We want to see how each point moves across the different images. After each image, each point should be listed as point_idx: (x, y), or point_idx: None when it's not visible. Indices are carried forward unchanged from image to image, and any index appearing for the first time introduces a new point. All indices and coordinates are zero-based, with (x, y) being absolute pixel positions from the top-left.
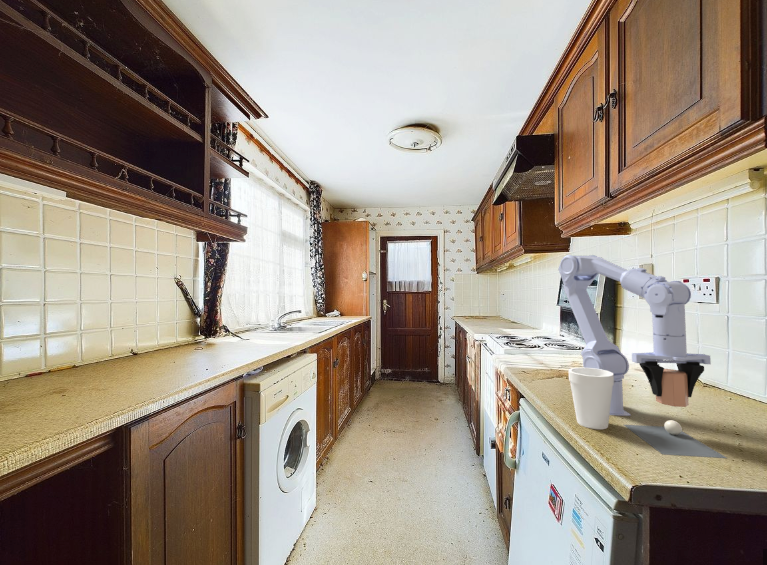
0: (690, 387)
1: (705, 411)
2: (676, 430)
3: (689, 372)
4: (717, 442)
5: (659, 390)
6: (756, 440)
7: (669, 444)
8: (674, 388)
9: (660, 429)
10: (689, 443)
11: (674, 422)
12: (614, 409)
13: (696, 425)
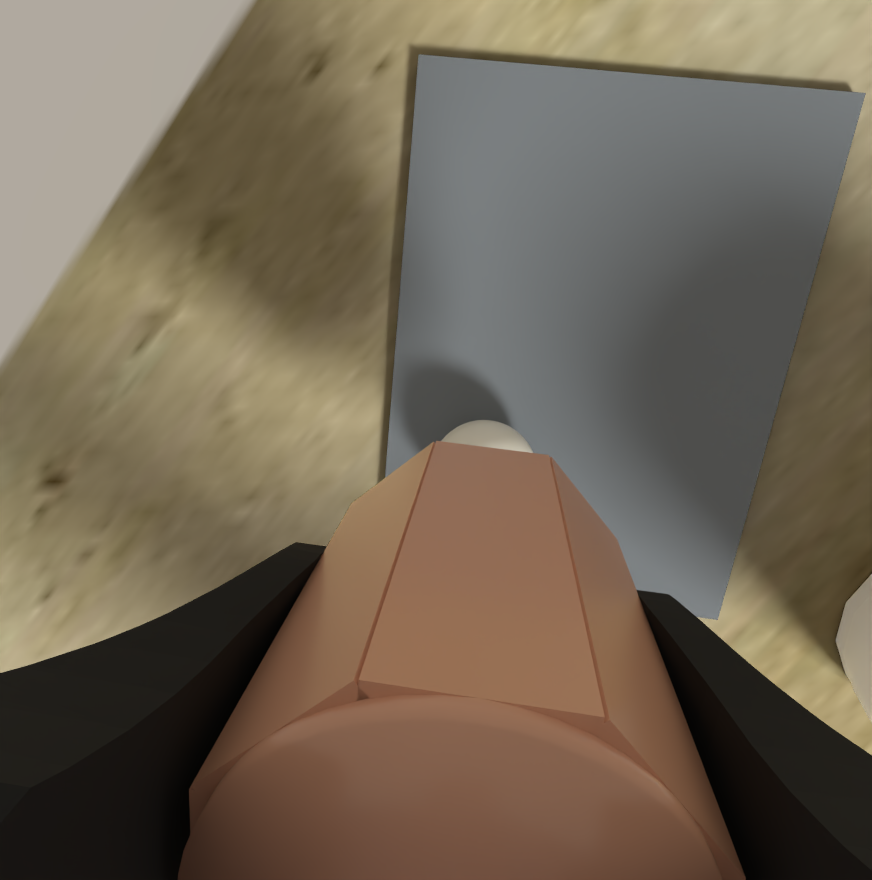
0: (264, 593)
1: None
2: (498, 422)
3: (143, 790)
4: (266, 355)
5: (695, 623)
6: (5, 390)
7: (656, 280)
8: (558, 553)
9: None
10: (495, 299)
11: None
12: None
13: None
